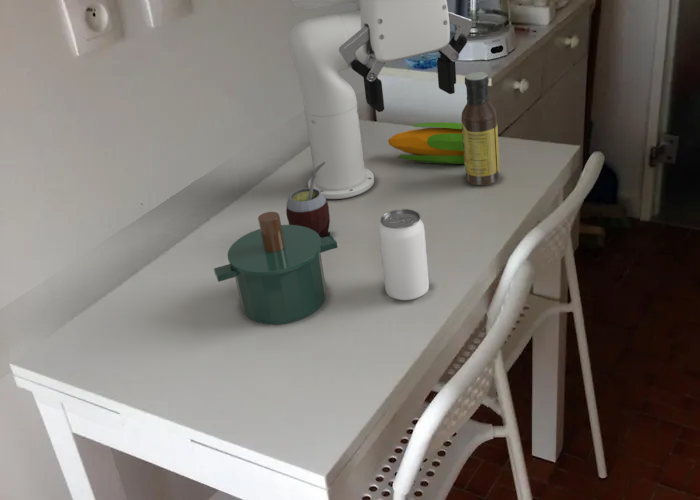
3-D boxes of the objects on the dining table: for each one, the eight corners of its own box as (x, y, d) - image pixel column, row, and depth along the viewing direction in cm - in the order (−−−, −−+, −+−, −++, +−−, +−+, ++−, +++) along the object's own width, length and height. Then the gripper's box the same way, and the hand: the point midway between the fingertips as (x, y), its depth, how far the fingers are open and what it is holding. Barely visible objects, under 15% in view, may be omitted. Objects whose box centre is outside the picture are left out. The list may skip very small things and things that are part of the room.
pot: (217, 296, 123) (205, 248, 119) (327, 264, 128) (320, 217, 123) (235, 339, 113) (223, 288, 108) (355, 303, 117) (348, 252, 113)
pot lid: (220, 246, 120) (211, 210, 117) (306, 223, 124) (300, 186, 121) (241, 289, 109) (232, 250, 106) (335, 262, 112) (329, 223, 109)
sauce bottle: (478, 169, 152) (473, 66, 142) (506, 176, 148) (503, 71, 138) (458, 182, 148) (451, 77, 138) (486, 190, 144) (482, 82, 134)
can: (426, 302, 115) (420, 229, 109) (382, 301, 117) (373, 229, 111) (431, 278, 120) (426, 207, 115) (389, 278, 122) (381, 207, 116)
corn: (481, 130, 148) (379, 127, 155) (482, 169, 151) (382, 165, 158) (490, 118, 154) (391, 116, 161) (491, 156, 157) (394, 152, 164)
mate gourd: (292, 229, 139) (278, 149, 132) (337, 224, 139) (326, 144, 132) (290, 251, 133) (275, 168, 126) (337, 245, 132) (325, 162, 125)
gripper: (452, -59, 98) (459, 77, 106) (319, -33, 93) (337, 107, 102) (482, -52, 92) (488, 92, 100) (342, -24, 87) (359, 124, 96)
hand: (412, 99), depth 101 cm, fingers open, 9 cm apart
